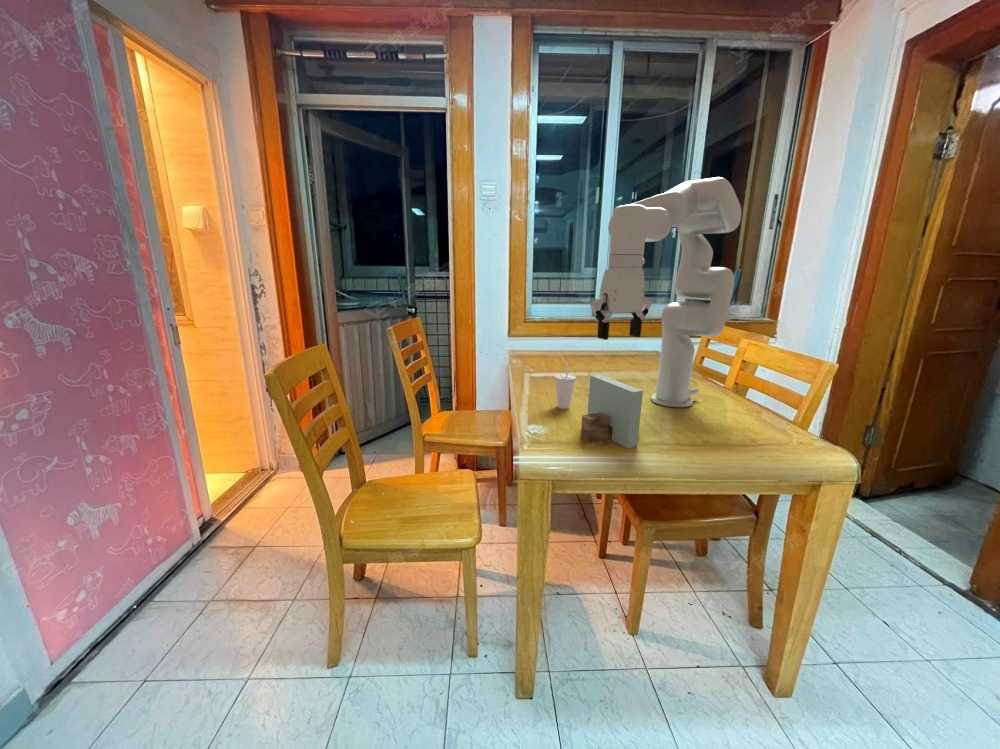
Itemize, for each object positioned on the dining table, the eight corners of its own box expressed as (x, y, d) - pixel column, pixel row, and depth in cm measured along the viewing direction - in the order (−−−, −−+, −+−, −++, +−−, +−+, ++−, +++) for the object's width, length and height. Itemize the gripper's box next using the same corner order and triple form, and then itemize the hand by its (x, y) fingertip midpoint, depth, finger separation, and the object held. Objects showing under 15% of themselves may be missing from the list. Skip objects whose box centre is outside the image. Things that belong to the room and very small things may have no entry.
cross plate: (586, 425, 109) (590, 375, 106) (595, 423, 110) (599, 374, 107) (627, 448, 95) (633, 392, 92) (637, 446, 96) (643, 390, 93)
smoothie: (563, 411, 119) (566, 366, 115) (548, 406, 124) (550, 361, 120) (578, 407, 123) (581, 363, 119) (563, 402, 128) (565, 359, 124)
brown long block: (630, 428, 107) (632, 407, 106) (638, 432, 105) (640, 410, 103) (580, 437, 101) (582, 415, 99) (587, 442, 98) (589, 419, 97)
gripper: (642, 263, 99) (635, 333, 103) (584, 263, 92) (579, 337, 96) (666, 263, 92) (658, 337, 97) (605, 263, 85) (599, 342, 90)
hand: (619, 337), depth 96 cm, fingers open, 9 cm apart
